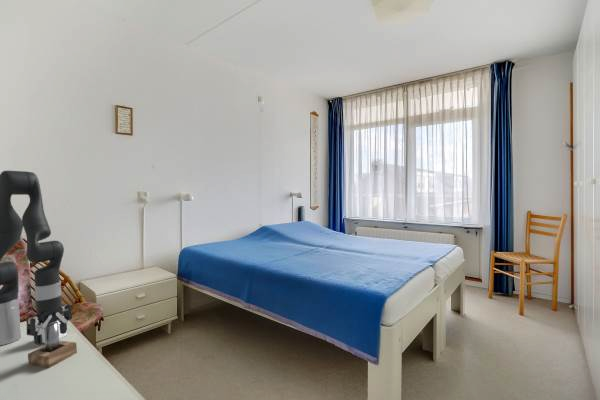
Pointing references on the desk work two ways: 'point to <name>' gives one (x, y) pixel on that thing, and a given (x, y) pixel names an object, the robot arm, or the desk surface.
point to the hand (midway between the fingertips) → (51, 338)
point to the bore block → (52, 355)
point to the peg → (52, 337)
